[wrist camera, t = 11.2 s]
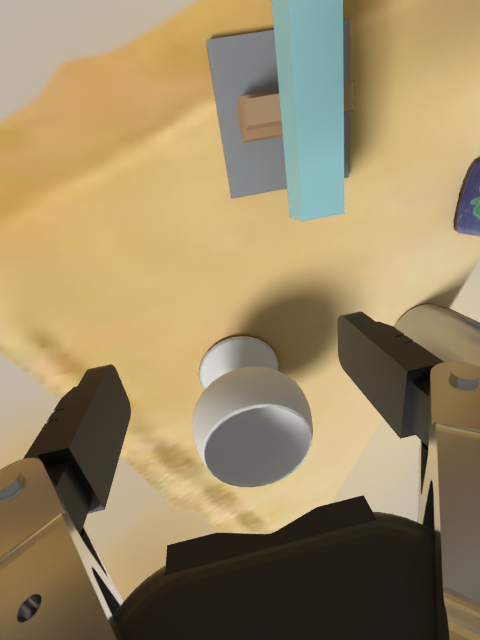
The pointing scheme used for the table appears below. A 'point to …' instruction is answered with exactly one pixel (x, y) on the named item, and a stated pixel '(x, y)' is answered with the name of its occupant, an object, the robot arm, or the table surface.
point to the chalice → (249, 415)
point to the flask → (469, 202)
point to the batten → (311, 104)
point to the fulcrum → (257, 110)
